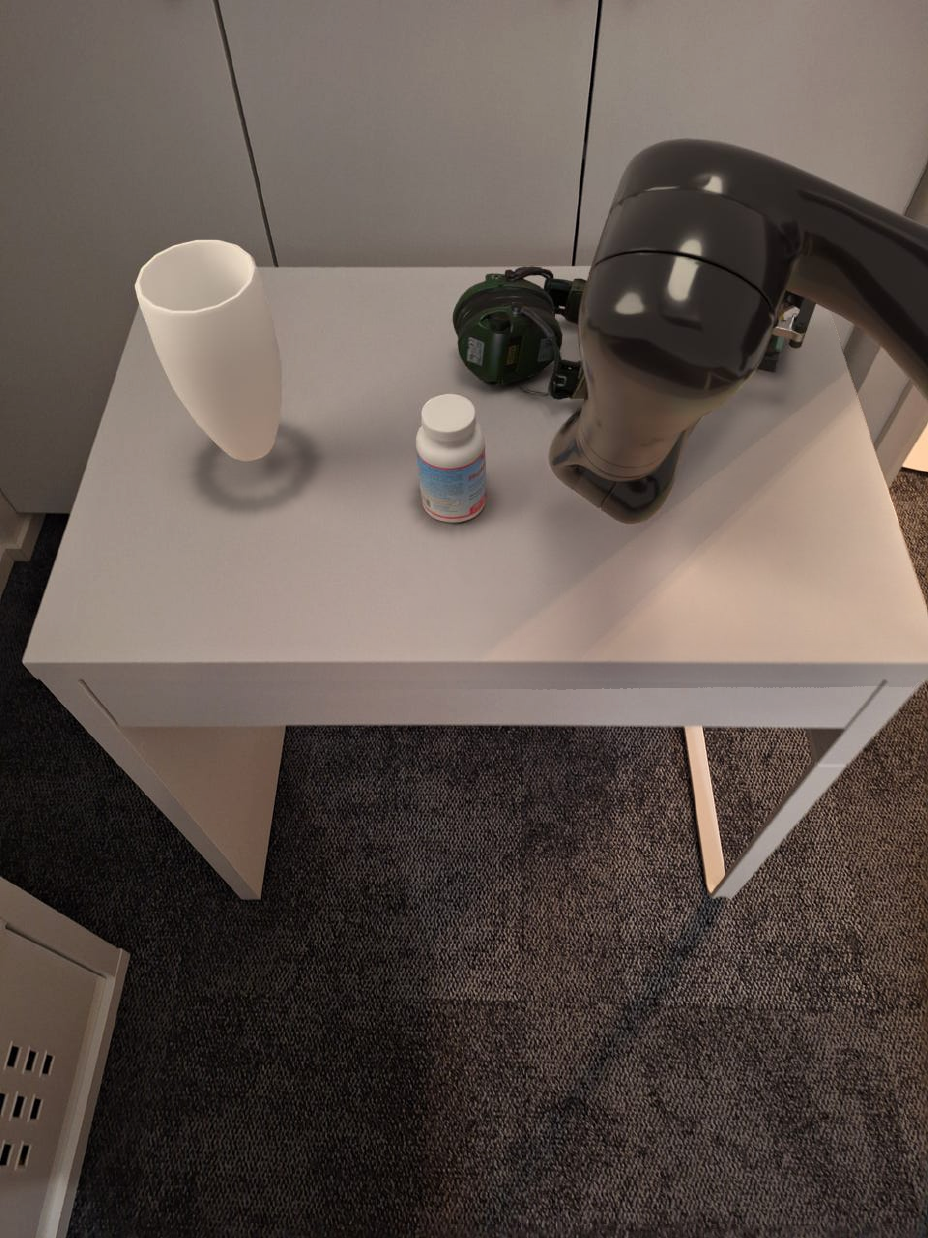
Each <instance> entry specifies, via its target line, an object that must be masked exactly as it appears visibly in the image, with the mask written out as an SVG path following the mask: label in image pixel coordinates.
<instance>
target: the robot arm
mask: <svg viewBox="0 0 928 1238" xmlns="http://www.w3.org/2000/svg"><path fill="white" fill-rule="evenodd" d="M816 305H818V306H820V307H822V308H824V309H826V310H828V311H830V312H832V313H833V314H836V315H838V316H840V317H842V318H843V319H845V320H846V321H848V322H849V323H852V324H853V325H854V326H856V327H857V328H858V329H860V330H861V331H863V332H864V333H865V334H866V335H868V336H869V337H870V338H871V339H872V340H873V341H874V342H876V343H877V344H878V345H879V346H880V347H881V348H882V349H883V350H884V351H885V353H886V354H887V355H888V356H889V357H890V358H891V359H892V360H893V362H894V363H895V364H896V365H897V366H898V367H899V369H900V370H901V372H903V374H904V375H905V376H906V378H907V379H908V380H909V381H910V382H911V384H912V385H913V387H915V389H916V390H917V391H918V392H919V394H920V395H921V397H922V398H923V399H924V400H925V401H926V403H928V225H925V224H923V223H920V222H918V221H916V220H914V219H912V218H910V217H907V216H905V215H903V214H901V213H898V212H896V211H894V210H892V209H890V208H888V207H886V206H883V205H882V204H879V203H877V202H875V201H873V200H871V199H868V198H866V197H864V196H861V195H860V194H858V193H855V192H853V191H852V190H849V189H847V188H844V187H843V186H840V185H838V184H835V183H833V182H831V181H829V180H826V179H824V178H822V177H820V176H818V175H815V174H814V173H811V172H809V171H807V170H804V169H802V168H800V167H797V166H795V165H793V164H790V163H788V162H786V161H784V160H781V159H779V158H776V157H773V156H771V155H768V154H765V153H762V152H759V151H756V150H753V149H751V148H746V147H743V146H740V145H737V144H734V143H733V144H732V143H729V142H724V141H721V140H714V139H713V140H712V139H703V138H691V137H689V138H688V137H685V138H673V139H666V140H662V141H659V142H656V143H654V144H651V145H649V146H646V147H644V148H643V149H642V150H640V151H639V152H638V153H637V154H635V155H634V156H633V157H632V158H631V160H630V161H629V162H628V164H627V165H626V166H625V169H624V171H623V172H622V175H621V177H620V180H619V183H618V184H617V188H616V190H615V193H614V196H613V199H612V203H611V204H610V208H609V210H608V213H607V217H606V219H605V223H604V225H603V229H602V232H601V235H600V238H599V241H598V244H597V246H596V250H595V253H594V257H593V259H592V262H591V266H590V269H589V271H588V276H587V279H586V284H585V287H584V290H583V294H582V298H581V302H580V309H579V317H578V325H577V338H578V350H579V355H580V356H579V357H580V360H581V361H582V366H583V370H584V375H585V379H586V383H587V389H588V390H587V392H586V394H585V398H584V399H583V401H582V405H581V407H580V408H579V409H578V410H577V411H576V412H574V413H573V414H571V416H570V417H568V419H566V421H565V422H564V423H563V424H562V425H561V427H560V428H559V429H558V430H557V432H556V434H555V435H554V437H553V439H552V442H551V444H550V447H549V450H548V464H549V467H550V470H551V471H552V473H553V475H554V476H555V477H556V478H557V479H558V480H559V481H560V482H561V483H562V484H563V485H564V486H566V487H568V488H569V489H570V490H572V491H574V492H575V493H576V494H577V495H579V496H581V497H582V498H583V499H585V500H586V501H587V502H589V503H590V504H592V505H593V506H595V507H596V508H598V509H600V511H602V512H603V513H604V514H606V515H607V516H609V518H612V519H613V520H615V521H617V522H618V523H621V524H624V525H637V524H640V523H643V522H646V521H648V520H649V519H651V518H653V517H654V516H655V515H656V514H657V513H658V512H659V511H660V510H661V509H662V508H663V506H664V505H665V503H666V502H667V500H668V499H669V496H670V495H671V492H672V490H673V488H674V484H675V482H676V479H677V475H678V472H679V468H680V465H681V461H682V457H683V453H684V450H685V447H686V445H687V441H688V439H689V437H690V435H692V434H691V433H692V432H693V431H694V430H695V428H696V426H697V425H698V423H700V421H701V420H702V418H703V417H705V416H706V415H709V413H711V412H713V411H715V410H717V409H718V408H719V407H721V406H722V405H724V404H725V403H726V402H727V401H728V400H729V399H731V398H732V397H733V396H735V394H736V393H738V392H739V391H740V390H741V389H742V388H743V387H744V386H745V385H746V383H748V381H749V380H750V379H751V378H752V376H753V375H754V374H755V372H756V371H757V370H758V369H757V367H758V366H759V364H760V362H761V360H762V358H763V356H764V354H765V351H766V349H767V346H768V344H769V341H770V339H771V338H772V337H773V336H774V335H775V336H779V337H783V338H784V339H787V340H788V344H787V345H788V347H790V348H792V349H800V348H802V346H803V343H804V340H805V338H806V334H807V332H808V329H809V325H810V323H811V320H812V318H813V314H814V311H815V308H816ZM794 308H796V309H798V310H799V311H798V313H797V312H793V313H792V315H791V316H789V317H787V318H786V319H785V320H786V321H784V322H779V318H780V316H781V315H782V314H783V313H784V312H785V313H786V312H788V311H790V310H792V309H794ZM785 313H784V314H785Z"/></svg>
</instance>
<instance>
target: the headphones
mask: <svg viewBox="0 0 928 1238" xmlns="http://www.w3.org/2000/svg"><path fill="white" fill-rule="evenodd" d="M534 276H540V277H543V278H544V279H545V280H544V283H543V287H542V286H541V285H538V284H537V283H535V282H533V281H530V280H527V279H525V278H527V277H534ZM484 279H485V280H483V281H481V282H478V283H475V284H473V285H471V286H470V287H468V288H467V289H466V290H465V291H464V292H463V293H462V294H461V295H460V297H459V298H458V300H457V303H456V304H455V306H454V309H453V311H452V325H453V329H454V331H455V334H456V336H457V349H458V356H459V357H460V359H461V361H462V363H463V365H464V366H465V367H466V368H467V370H469V371H470V372H471V373H472V374H473V375H474V376H475V377H476V378H477V379H478V380H479V381H483V383H484V384H485V385H486V386H491V387H493V386H496V385H498V384H500V385H503V386H507V385H509V384H510V383H515V382H518V381H520V380H524V379H527V378H530V377H532V376H533V377H534V376H535V375H538V374H540V373H541V372H543V371H544V370H545V369H547V368H548V367H549V366H550V365H551V364H552V363H553V366H552V370H551V375H550V378H549V379H550V380H549V384H548V388H547V390H548V391H538V390H530V389H527V388H524V387H522V386H520V385H518V388H519V389H521V390H523V391H525V392H526V393H530V394H532V395H535V396H541V397H548V396H549V397H551V398H552V399H553V400H556V401H557V400H558V401H562V400H565V399H567V398H569V399H570V400H584V398H585V394H586V392H587V390H588V389H587V383H586V379H585V375H584V370H583V366H582V361H581V359H579V360H577V361H572V360H567V359H565V358H564V359H563V357H562V356H563V355H562V352H561V348H562V345H563V331H562V328H561V325H560V323H559V321H558V320H557V318H556V315H560V316H562V317H563V318H564V320H565V321H566V322H568V323H571V324H573V325H576V326H578V317H579V309H580V302H581V298H582V294H583V290H584V287H585V284H586V281H587V279H584V278H578V277H577V278H573V280H568V279H564V278H554V273H553V272H552V270H550V269H547V268H543V267H542V266H534V265H533V266H532V265H530V266H521V267H518V268H515V270H512V269H505V270H504V273H494V272H491V273H487V274H485V277H484Z"/></svg>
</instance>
